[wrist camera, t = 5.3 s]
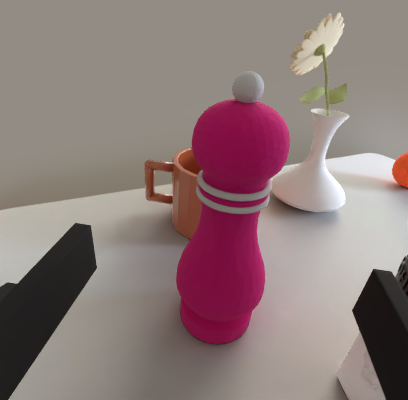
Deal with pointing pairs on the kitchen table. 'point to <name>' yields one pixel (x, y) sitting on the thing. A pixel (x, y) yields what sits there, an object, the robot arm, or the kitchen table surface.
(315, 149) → the flower in vase
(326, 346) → the kitchen table surface
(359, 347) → the jar
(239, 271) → the pepper mill
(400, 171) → the clementine
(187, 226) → the terracotta coffee mug
